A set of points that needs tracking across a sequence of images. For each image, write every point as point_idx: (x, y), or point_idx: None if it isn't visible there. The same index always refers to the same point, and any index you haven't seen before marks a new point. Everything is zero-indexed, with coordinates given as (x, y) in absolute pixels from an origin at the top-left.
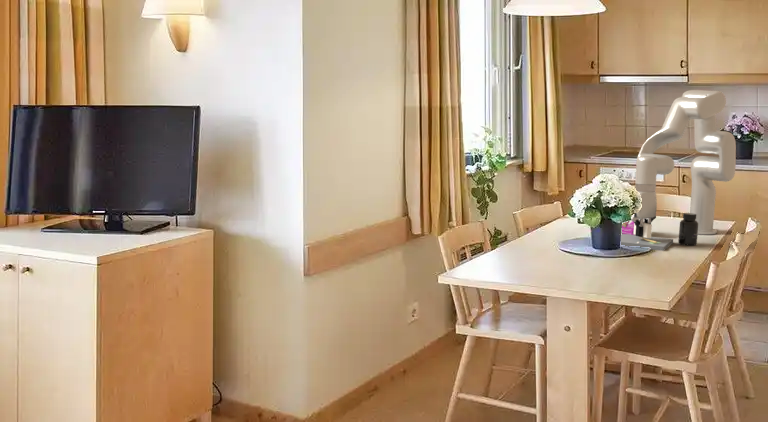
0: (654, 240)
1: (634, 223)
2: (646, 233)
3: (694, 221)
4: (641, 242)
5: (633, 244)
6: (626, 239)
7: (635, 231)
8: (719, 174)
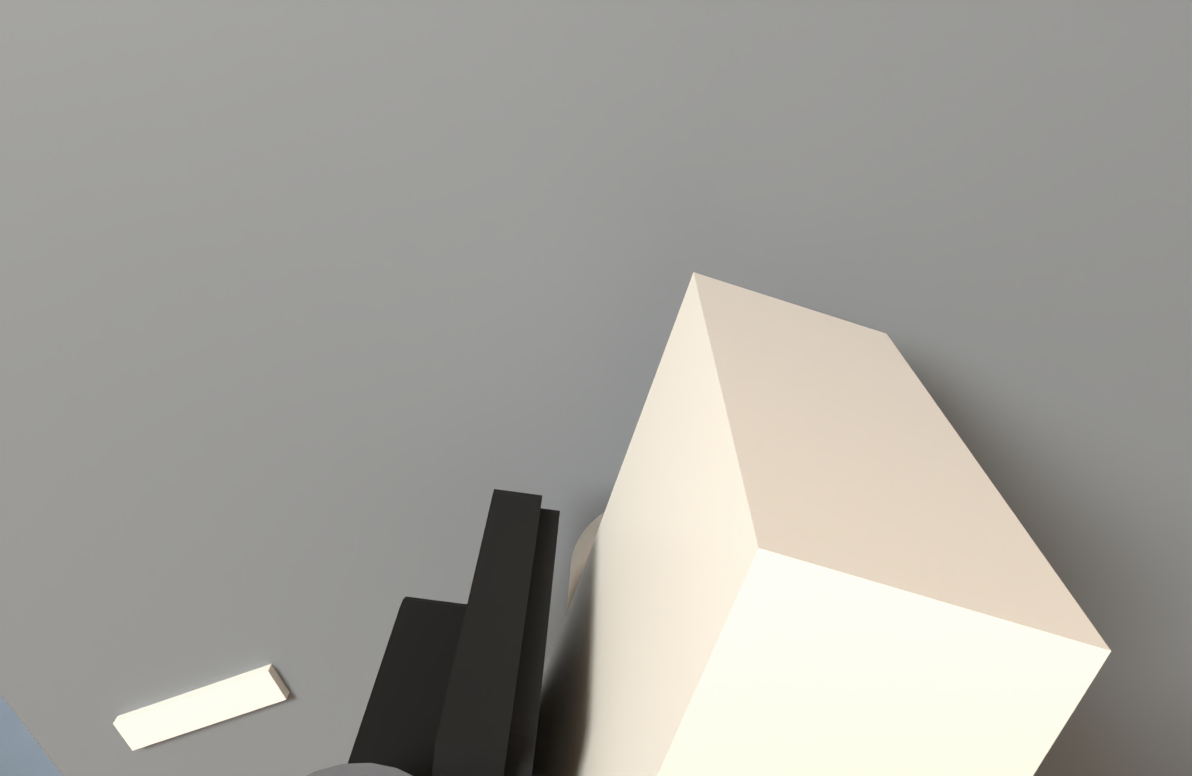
0: None
1: (737, 495)
2: None
3: None
4: (316, 737)
5: (22, 680)
6: (276, 240)
7: (662, 423)
8: None
